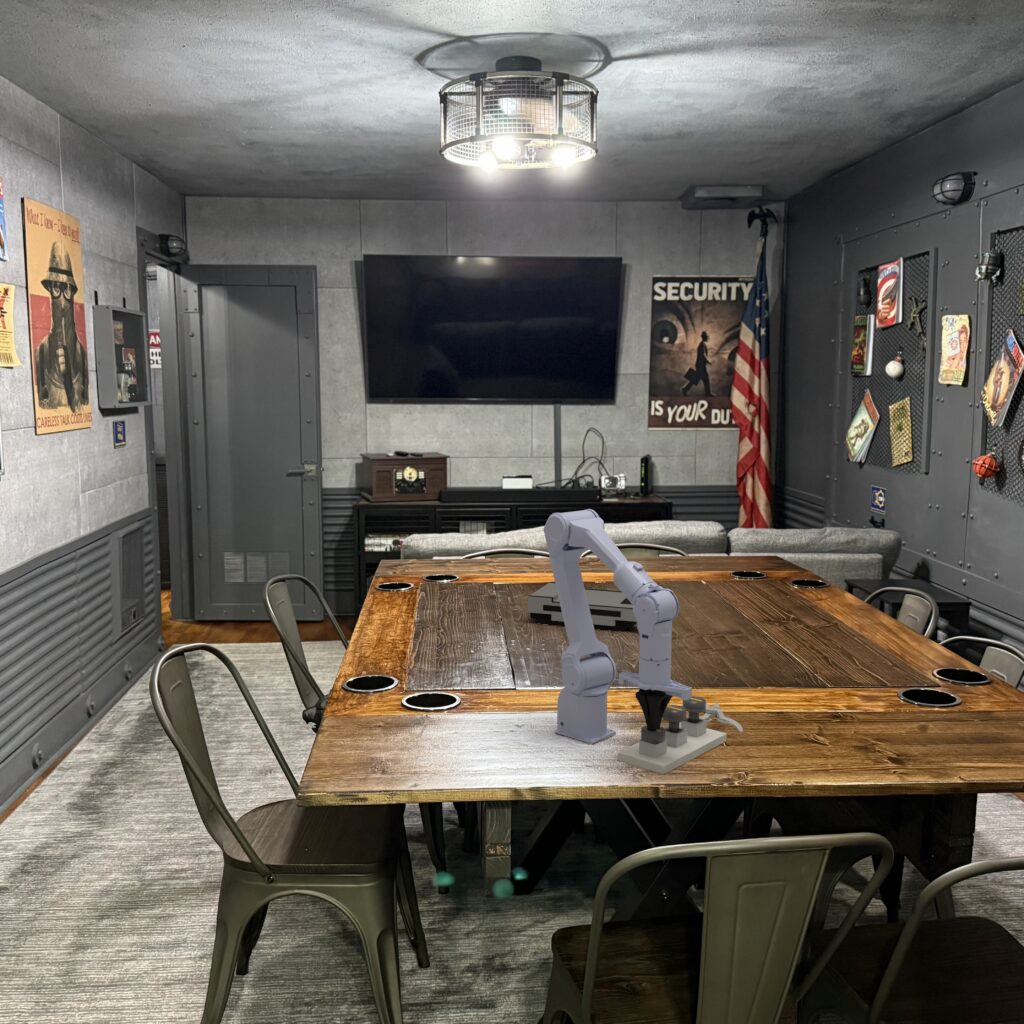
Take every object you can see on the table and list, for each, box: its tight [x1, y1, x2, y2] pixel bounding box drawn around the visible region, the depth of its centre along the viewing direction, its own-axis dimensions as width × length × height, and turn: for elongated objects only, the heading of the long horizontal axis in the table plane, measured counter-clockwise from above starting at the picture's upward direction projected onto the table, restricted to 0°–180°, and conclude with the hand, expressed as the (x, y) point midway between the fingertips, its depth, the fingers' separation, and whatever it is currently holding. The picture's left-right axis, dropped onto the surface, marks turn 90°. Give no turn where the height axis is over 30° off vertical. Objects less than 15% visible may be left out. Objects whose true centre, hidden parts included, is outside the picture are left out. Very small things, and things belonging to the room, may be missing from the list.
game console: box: [527, 581, 637, 633], centre depth 293 cm, size 21×32×8 cm, turn 70°
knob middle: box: [662, 704, 687, 732], centre depth 194 cm, size 4×4×4 cm
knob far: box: [682, 695, 707, 723], centre depth 199 cm, size 4×4×4 cm
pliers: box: [699, 702, 744, 734], centre depth 212 cm, size 10×2×15 cm
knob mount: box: [617, 716, 728, 775], centre depth 195 cm, size 10×22×4 cm, turn 139°
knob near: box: [640, 725, 666, 744], centre depth 189 cm, size 4×4×4 cm
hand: (653, 729), depth 189 cm, fingers closed, pressing on knob near
